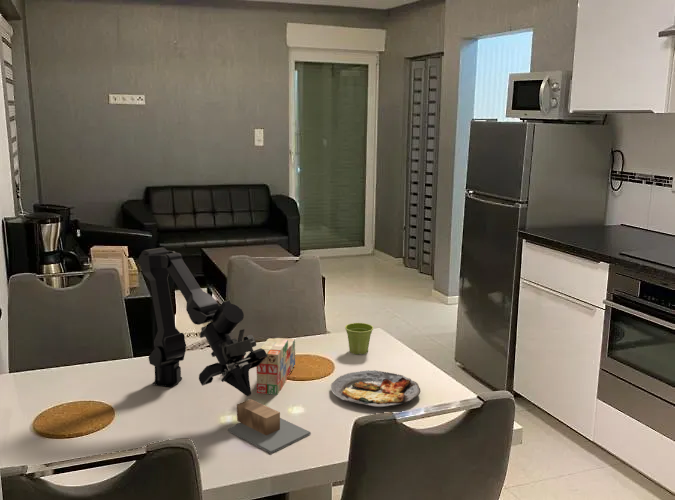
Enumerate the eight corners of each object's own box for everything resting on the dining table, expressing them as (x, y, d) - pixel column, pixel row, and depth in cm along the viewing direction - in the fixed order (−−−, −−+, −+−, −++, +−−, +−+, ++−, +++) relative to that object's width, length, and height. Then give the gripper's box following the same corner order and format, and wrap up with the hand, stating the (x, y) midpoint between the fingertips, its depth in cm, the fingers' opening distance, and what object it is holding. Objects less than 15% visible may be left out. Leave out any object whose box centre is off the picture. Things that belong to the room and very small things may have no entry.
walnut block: (237, 404, 161) (266, 418, 154) (250, 398, 164) (279, 412, 157) (237, 420, 162) (266, 435, 155) (250, 415, 165) (279, 429, 158)
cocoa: (224, 359, 206) (222, 323, 204) (243, 357, 207) (241, 321, 205) (227, 369, 197) (225, 331, 195) (247, 366, 198) (245, 329, 196)
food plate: (429, 386, 187) (430, 374, 186) (403, 419, 166) (404, 406, 166) (351, 372, 197) (351, 362, 197) (318, 402, 177) (318, 390, 176)
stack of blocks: (276, 365, 201) (276, 328, 198) (295, 367, 200) (295, 329, 197) (256, 393, 180) (256, 352, 178) (277, 395, 179) (277, 353, 177)
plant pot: (363, 359, 207) (364, 333, 206) (339, 352, 212) (339, 328, 211) (377, 350, 215) (378, 326, 213) (353, 345, 220) (354, 321, 218)
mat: (227, 430, 158) (227, 428, 158) (266, 413, 167) (266, 411, 167) (271, 453, 148) (271, 451, 147) (310, 434, 157) (310, 431, 157)
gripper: (204, 335, 154) (234, 391, 149) (262, 318, 168) (291, 369, 163) (186, 357, 161) (214, 412, 156) (243, 340, 174) (271, 389, 169)
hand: (249, 395), depth 161 cm, fingers closed
